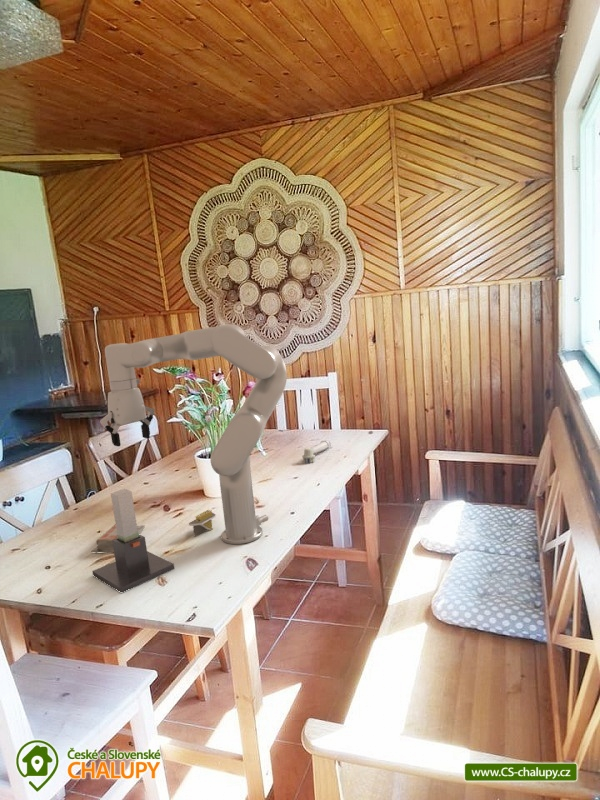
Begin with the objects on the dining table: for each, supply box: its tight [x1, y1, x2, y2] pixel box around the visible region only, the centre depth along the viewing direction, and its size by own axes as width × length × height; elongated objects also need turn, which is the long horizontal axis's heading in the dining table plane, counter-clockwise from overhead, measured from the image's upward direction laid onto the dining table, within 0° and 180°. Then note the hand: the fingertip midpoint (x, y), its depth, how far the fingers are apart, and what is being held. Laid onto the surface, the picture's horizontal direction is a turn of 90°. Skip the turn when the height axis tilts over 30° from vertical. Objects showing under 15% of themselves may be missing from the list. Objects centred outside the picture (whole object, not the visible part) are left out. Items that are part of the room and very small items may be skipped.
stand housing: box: [92, 534, 175, 593], centre depth 158 cm, size 16×16×10 cm
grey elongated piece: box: [302, 440, 332, 464], centre depth 256 cm, size 5×7×25 cm
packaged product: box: [91, 523, 146, 552], centre depth 182 cm, size 18×5×10 cm
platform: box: [188, 509, 217, 537], centre depth 181 cm, size 12×18×7 cm, turn 147°
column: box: [110, 488, 139, 544], centre depth 156 cm, size 4×4×16 cm
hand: (132, 441), depth 172 cm, fingers open, 9 cm apart
